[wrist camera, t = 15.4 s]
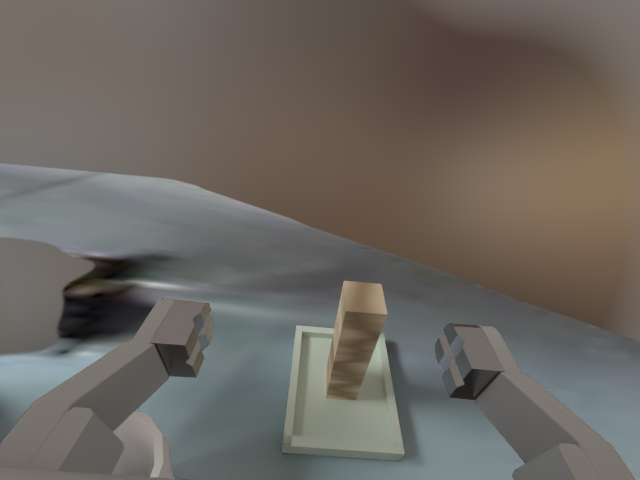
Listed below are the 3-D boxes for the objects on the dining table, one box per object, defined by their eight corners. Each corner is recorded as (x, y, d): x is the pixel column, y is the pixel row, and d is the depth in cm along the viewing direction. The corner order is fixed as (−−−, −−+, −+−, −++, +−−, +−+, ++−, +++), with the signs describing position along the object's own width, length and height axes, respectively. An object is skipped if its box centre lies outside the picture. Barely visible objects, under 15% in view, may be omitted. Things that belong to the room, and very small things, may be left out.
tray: (281, 452, 33) (282, 445, 31) (295, 334, 46) (296, 325, 44) (398, 461, 33) (404, 454, 32) (380, 341, 46) (383, 332, 44)
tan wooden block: (325, 397, 37) (345, 311, 26) (326, 368, 40) (343, 280, 29) (355, 400, 37) (387, 314, 26) (353, 371, 40) (381, 284, 30)
